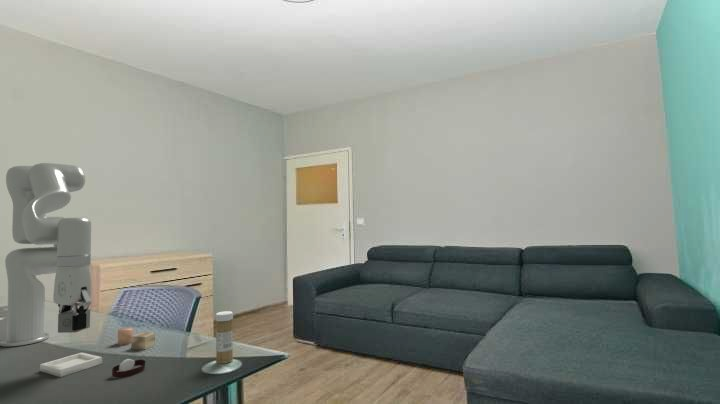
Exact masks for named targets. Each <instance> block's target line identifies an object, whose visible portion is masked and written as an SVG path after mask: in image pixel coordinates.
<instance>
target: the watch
mask: <svg viewBox="0 0 720 404" xmlns="http://www.w3.org/2000/svg"><path fill="white" fill-rule="evenodd" d="M137 366H138V367H137ZM133 367H136V368H133ZM145 368H146V360H144V359H135V360H133V359H131V358H126V359H124V360H122V362H121V363H119V364H118V365H116V366H113V367H112V370H111V375H112V377H114V378H117V379H118V378H124V377H129V376H132V375H136V374H138V373H141V372H143V371H144V370H145Z"/></svg>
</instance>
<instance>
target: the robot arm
mask: <svg viewBox="0 0 720 404" xmlns="http://www.w3.org/2000/svg"><path fill="white" fill-rule="evenodd" d="M5 183H6V189H7V191H8V194H9V196H10V198H11V202H12V228H11V230H12V231H11V232H12V239H13V241H14V242H15V243H17V244H20V245H36V246H37V245H38V247H26V248H25V247H24V248H18V249H17V248H16V249H14V250H11V251H10V252H8V253H7V255H6V256H5V261H4V263H5V265H4V266H5V271H6V276H7V318H6V338H3V339H2V340H0V346H1V347H5V348H6V347H18V346H25V345H30V344H35V343H39V342H42V341H45V340H47V339H49V338H50V332H46V331H45V303H46V302H45V300H46V297H45V295H46V293H45V292H46V288H45V285H44V283H42V282H41V280H40V279H38V278H37V277H36V276H41V275H51V274H55V277H54V282H53V283H54V285H53V298H52V299H53V303H54V304H56V305H57V306H58V308H59V309H58V314H59V313H63V312H66V311H70V310H74V316H72V330H73V331H76V330H80V329H84V328H86V314H87V312H88V309H89V307H90V305H91V304H92V300H91V297H92V280H91V271H90V270H91V269H90V267H91V266H92V265H91V264H92V263H91V261H92V257H91V256H92V221H91V220H90V219H89V218H85V217H63V216H47V214H49V213H51V212H55V211H58V210H61V209H64V208H65V206H67V205H69V204H70V202H71V201H72V200H71V199H72V194H71V193H72V192H73V193H74V192H78V191H80V190H82V189H83V188H84V186H85V183H86V175H85V172H84V171H83V169H82V168H81V167H79V166H78V165H72V164H62V163H61V164H60V163H50V162H41V163H36V164H33V165H15V166H12V167H10V168H8V170H7V171H6V174H5ZM41 245H43V246H41ZM44 245H53V246H46V247H44ZM40 246H41V247H40ZM84 330H85V329H84Z"/></svg>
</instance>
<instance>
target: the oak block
mask: <svg viewBox="0 0 720 404" xmlns="http://www.w3.org/2000/svg"><path fill="white" fill-rule="evenodd" d="M155 343H156V333H154V332H140V333H137V334H133V336H132V343H131V346H130V347H131V350H141V349H146V350H148V349H150V348H152V346H153V347H154V345H155V346H156V344H155ZM147 348H148V349H147Z"/></svg>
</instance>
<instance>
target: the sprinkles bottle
mask: <svg viewBox="0 0 720 404" xmlns="http://www.w3.org/2000/svg"><path fill="white" fill-rule="evenodd" d="M233 319H234V313H233V311H230V310H225V311H219V312H216V313H215V322H216V325H215V327H216V328H215V329H216V330H215V345H216V346H215V350H216V353H215V354H216V359H215V362H216V363H217V364H225V365H226V364H228V363H231V362H232V361H233V360H234V357H233V353H234V352H233V349H234V348H233V347H234V346H233V345H234V343H233V341H234V340H233V339H234V338H233V337H234V336H233Z"/></svg>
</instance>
